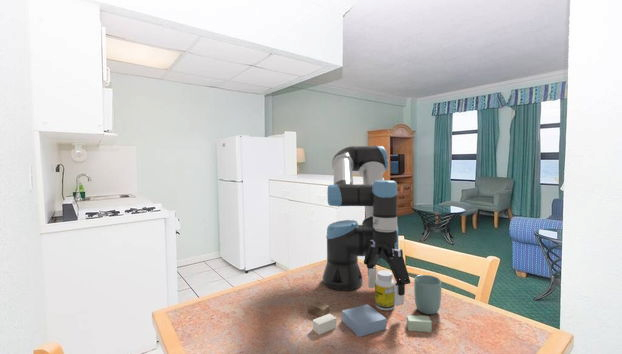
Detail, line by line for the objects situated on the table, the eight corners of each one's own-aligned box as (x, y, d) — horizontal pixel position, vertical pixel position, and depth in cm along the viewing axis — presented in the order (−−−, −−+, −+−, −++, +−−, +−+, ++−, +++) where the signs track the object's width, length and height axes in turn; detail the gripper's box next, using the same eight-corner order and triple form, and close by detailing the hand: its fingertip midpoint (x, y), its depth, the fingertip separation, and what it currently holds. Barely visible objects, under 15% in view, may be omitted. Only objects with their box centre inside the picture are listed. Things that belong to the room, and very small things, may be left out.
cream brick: (318, 335, 81) (318, 324, 81) (312, 330, 84) (312, 319, 84) (336, 328, 85) (336, 318, 84) (329, 323, 87) (329, 313, 87)
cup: (443, 319, 88) (444, 285, 87) (415, 316, 90) (416, 284, 89) (437, 306, 96) (438, 275, 95) (412, 304, 97) (412, 274, 97)
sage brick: (408, 331, 82) (409, 320, 82) (406, 325, 85) (406, 315, 85) (431, 332, 82) (431, 322, 82) (428, 326, 85) (428, 316, 85)
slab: (342, 320, 88) (341, 310, 88) (367, 313, 92) (367, 304, 91) (358, 337, 80) (358, 326, 80) (386, 328, 83) (386, 318, 83)
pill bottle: (371, 303, 98) (371, 270, 98) (388, 300, 100) (388, 268, 99) (380, 312, 92) (380, 277, 92) (398, 309, 94) (398, 275, 93)
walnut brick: (308, 313, 93) (308, 303, 93) (314, 309, 95) (314, 300, 95) (323, 319, 89) (323, 309, 89) (329, 315, 92) (329, 305, 91)
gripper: (353, 223, 104) (354, 283, 105) (402, 240, 81) (402, 316, 82) (371, 221, 107) (371, 279, 108) (423, 236, 84) (423, 310, 85)
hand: (384, 295), depth 95 cm, fingers open, 13 cm apart
